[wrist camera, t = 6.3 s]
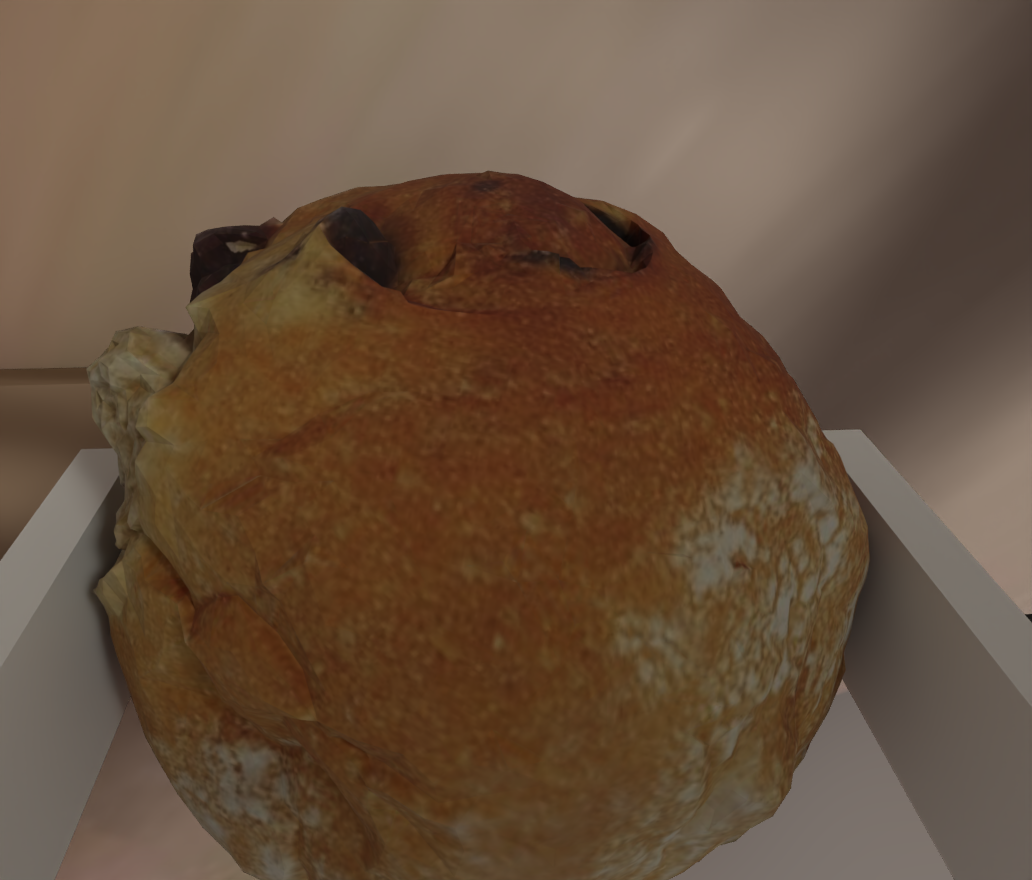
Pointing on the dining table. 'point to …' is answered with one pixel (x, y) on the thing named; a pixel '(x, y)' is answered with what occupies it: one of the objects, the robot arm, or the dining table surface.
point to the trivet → (40, 438)
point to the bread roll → (471, 543)
